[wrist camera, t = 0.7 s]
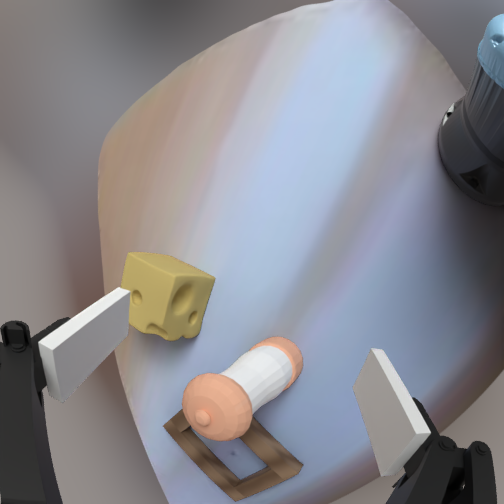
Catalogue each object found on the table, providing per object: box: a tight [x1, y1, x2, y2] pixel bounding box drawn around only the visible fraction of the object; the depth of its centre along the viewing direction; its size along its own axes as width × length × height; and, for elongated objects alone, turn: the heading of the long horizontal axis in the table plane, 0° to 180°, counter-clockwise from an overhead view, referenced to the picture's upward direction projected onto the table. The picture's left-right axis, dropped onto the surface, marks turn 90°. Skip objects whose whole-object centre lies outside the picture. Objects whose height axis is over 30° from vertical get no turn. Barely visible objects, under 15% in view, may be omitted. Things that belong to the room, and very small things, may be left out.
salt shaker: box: [182, 337, 303, 441], centre depth 29 cm, size 7×7×19 cm
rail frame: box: [163, 409, 303, 502], centre depth 39 cm, size 20×16×2 cm
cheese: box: [120, 252, 215, 341], centre depth 41 cm, size 10×11×10 cm
